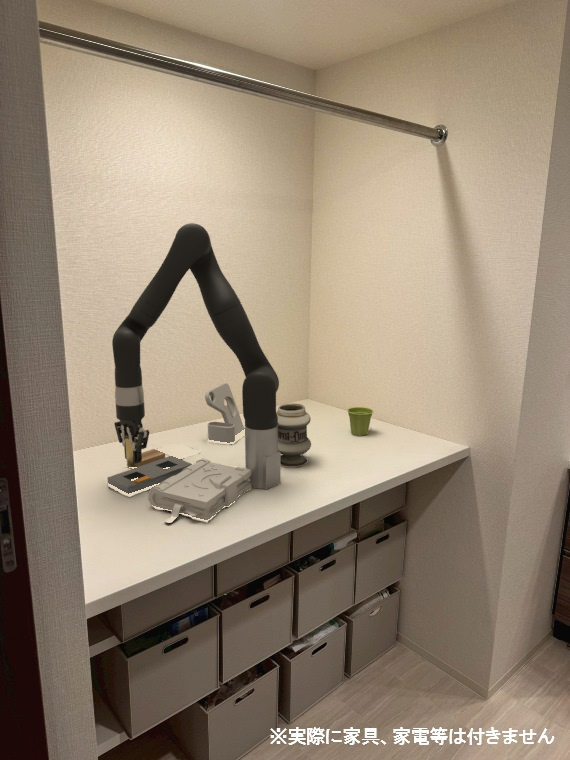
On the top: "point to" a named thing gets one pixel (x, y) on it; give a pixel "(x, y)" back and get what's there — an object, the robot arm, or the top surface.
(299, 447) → the apothecary jar
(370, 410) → the plant pot
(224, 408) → the phone holder
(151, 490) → the book
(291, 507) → the top surface
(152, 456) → the block
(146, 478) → the grey peg board
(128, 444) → the brass peg
